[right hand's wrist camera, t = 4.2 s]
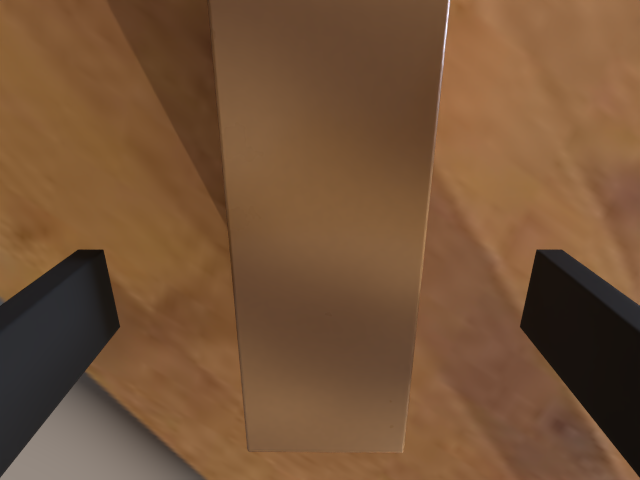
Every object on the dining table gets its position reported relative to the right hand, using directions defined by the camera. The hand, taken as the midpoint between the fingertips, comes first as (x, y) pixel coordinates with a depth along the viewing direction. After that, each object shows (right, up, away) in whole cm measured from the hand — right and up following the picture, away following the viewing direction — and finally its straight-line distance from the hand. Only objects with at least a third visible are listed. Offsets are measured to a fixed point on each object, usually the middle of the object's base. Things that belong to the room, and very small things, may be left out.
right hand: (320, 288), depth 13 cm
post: (0, +29, -5) cm, 30 cm away
